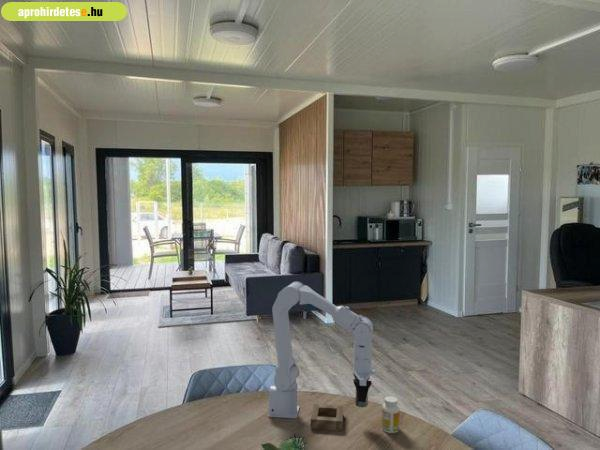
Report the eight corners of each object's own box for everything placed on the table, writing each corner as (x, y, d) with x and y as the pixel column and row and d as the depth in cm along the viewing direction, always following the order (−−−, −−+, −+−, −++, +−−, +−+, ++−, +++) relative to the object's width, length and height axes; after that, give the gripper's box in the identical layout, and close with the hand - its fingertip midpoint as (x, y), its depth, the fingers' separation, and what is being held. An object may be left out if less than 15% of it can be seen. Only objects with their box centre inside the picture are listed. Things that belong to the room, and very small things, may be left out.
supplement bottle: (397, 425, 137) (398, 395, 136) (400, 434, 132) (401, 403, 131) (380, 424, 138) (381, 394, 137) (382, 433, 132) (383, 402, 132)
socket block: (310, 428, 134) (310, 419, 134) (313, 412, 144) (313, 404, 144) (342, 430, 133) (342, 421, 133) (342, 414, 143) (343, 405, 143)
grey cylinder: (355, 406, 135) (355, 382, 135) (355, 401, 139) (355, 377, 139) (368, 407, 135) (368, 382, 134) (367, 401, 139) (368, 377, 138)
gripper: (376, 366, 129) (375, 410, 129) (374, 349, 143) (373, 388, 144) (353, 365, 129) (352, 408, 130) (352, 348, 144) (352, 387, 145)
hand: (361, 398), depth 137 cm, fingers closed on grey cylinder, 4 cm apart
